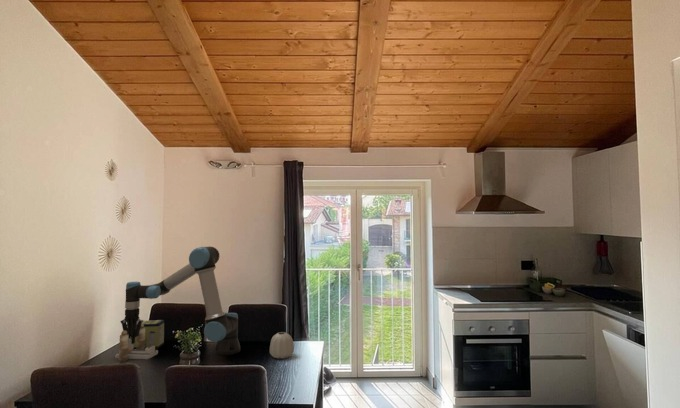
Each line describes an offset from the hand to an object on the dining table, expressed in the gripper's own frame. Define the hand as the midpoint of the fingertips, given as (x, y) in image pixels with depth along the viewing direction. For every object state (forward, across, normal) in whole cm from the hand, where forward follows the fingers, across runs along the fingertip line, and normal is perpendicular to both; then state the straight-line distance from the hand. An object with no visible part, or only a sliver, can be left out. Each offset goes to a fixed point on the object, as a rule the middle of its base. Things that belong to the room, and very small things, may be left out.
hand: (130, 349), depth 227 cm
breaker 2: (+2, -12, 0) cm, 12 cm away
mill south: (+4, -1, -8) cm, 9 cm away
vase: (+4, -89, -5) cm, 89 cm away
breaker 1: (+2, +2, 0) cm, 3 cm away
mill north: (+4, -1, +8) cm, 9 cm away
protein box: (+4, 0, -18) cm, 18 cm away
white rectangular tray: (+4, -4, 0) cm, 5 cm away
